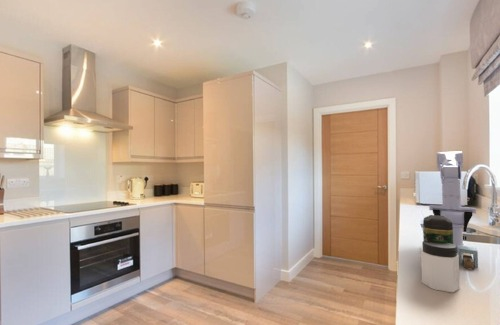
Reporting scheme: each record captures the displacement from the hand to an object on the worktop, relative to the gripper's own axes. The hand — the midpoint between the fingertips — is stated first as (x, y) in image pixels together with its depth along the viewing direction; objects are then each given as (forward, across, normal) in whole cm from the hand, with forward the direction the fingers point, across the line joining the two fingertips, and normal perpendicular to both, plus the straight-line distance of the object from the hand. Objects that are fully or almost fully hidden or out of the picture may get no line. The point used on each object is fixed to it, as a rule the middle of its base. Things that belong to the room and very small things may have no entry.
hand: (452, 229), depth 102 cm
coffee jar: (+10, -4, -26) cm, 28 cm away
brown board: (+10, +4, -9) cm, 14 cm away
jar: (+10, -4, -37) cm, 39 cm away
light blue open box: (+10, +4, -8) cm, 14 cm away
